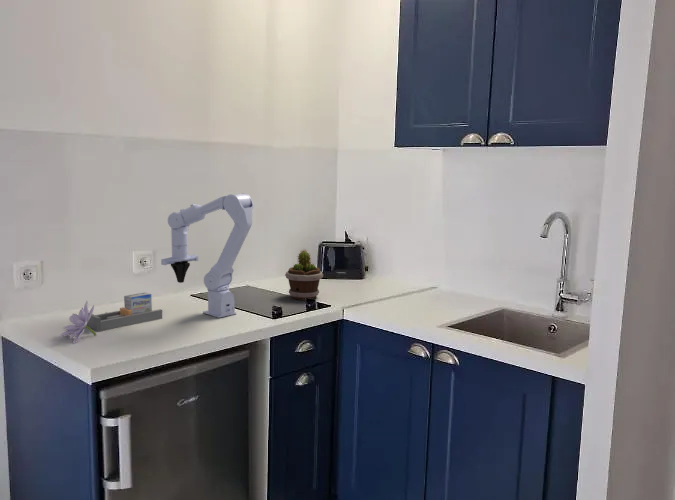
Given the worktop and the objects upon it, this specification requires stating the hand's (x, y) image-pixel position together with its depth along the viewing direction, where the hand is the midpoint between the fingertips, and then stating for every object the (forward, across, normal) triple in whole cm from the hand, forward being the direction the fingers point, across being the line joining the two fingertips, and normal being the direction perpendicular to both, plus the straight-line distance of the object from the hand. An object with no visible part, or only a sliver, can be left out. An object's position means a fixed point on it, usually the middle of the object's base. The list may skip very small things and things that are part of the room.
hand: (180, 282), depth 218 cm
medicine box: (+10, +19, +2) cm, 21 cm away
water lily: (+10, +42, +8) cm, 44 cm away
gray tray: (+10, +24, +2) cm, 26 cm away
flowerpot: (+10, -45, +19) cm, 50 cm away
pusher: (+10, +26, +2) cm, 28 cm away
